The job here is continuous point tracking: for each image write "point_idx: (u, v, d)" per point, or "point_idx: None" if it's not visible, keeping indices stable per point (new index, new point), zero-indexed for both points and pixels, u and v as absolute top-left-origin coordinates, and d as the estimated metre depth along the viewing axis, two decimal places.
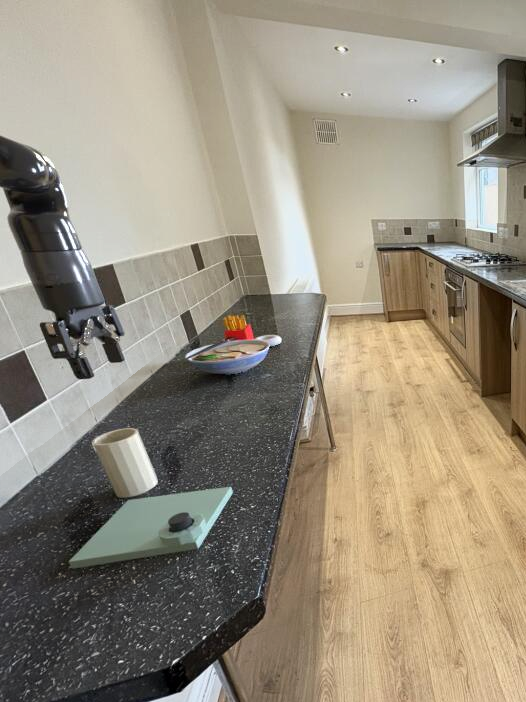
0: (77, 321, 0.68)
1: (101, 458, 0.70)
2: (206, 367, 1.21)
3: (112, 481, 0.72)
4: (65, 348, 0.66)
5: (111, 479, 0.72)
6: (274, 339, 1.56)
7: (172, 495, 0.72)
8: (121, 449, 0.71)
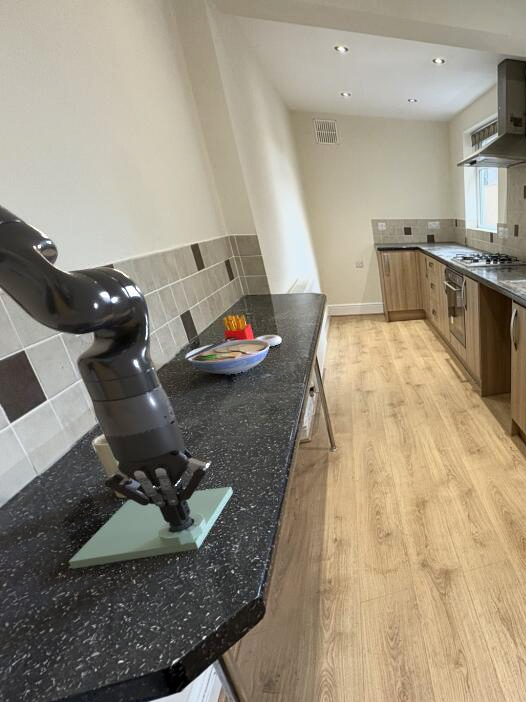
0: None
1: (101, 458, 0.70)
2: (206, 367, 1.21)
3: None
4: None
5: None
6: (274, 339, 1.56)
7: None
8: None
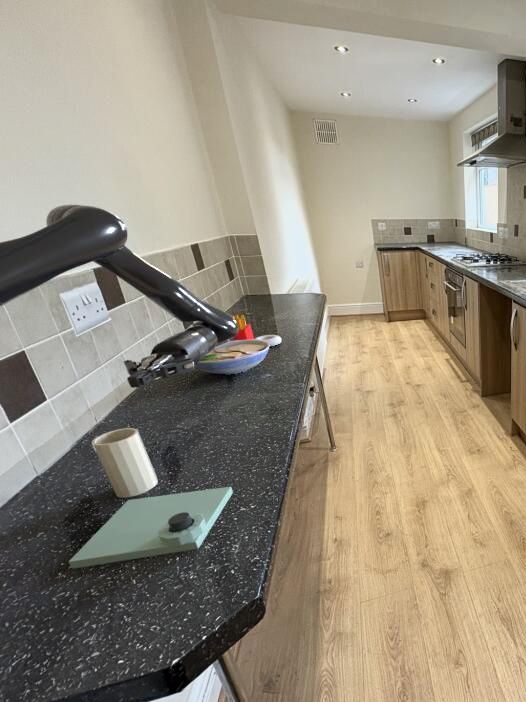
0: None
1: (101, 458, 0.70)
2: (206, 367, 1.21)
3: (112, 481, 0.72)
4: (173, 375, 0.83)
5: (111, 479, 0.72)
6: (274, 339, 1.56)
7: (172, 495, 0.72)
8: (121, 449, 0.71)
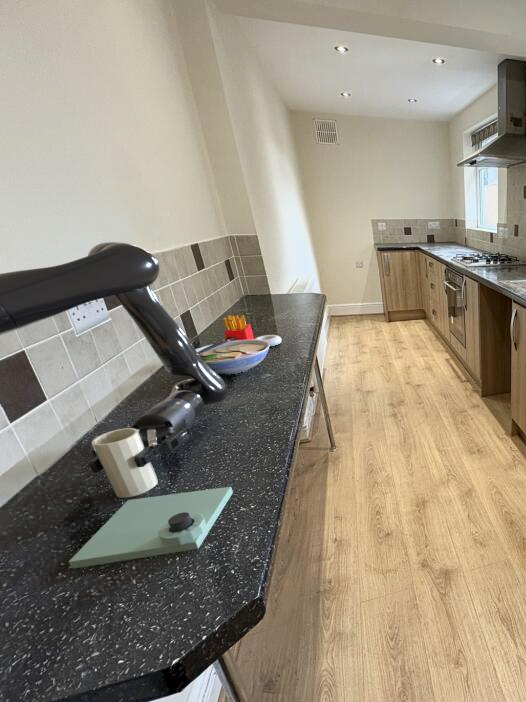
0: None
1: (101, 458, 0.70)
2: None
3: (112, 481, 0.72)
4: (176, 447, 0.79)
5: (111, 479, 0.72)
6: (274, 339, 1.56)
7: (172, 495, 0.72)
8: (121, 449, 0.71)
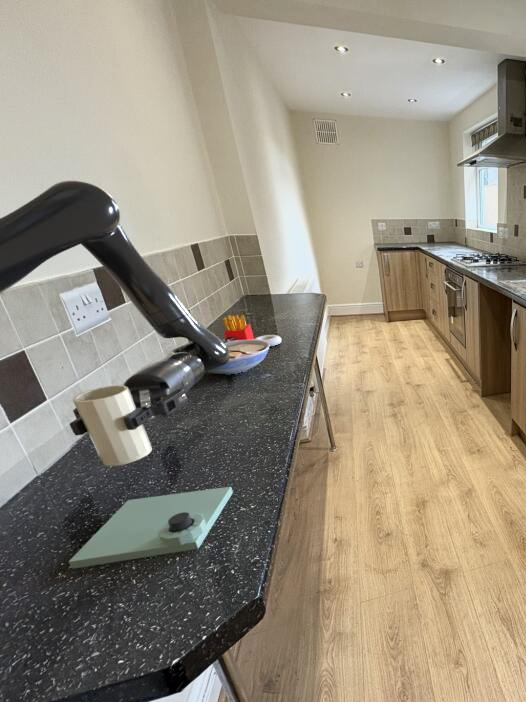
0: None
1: (84, 418, 0.60)
2: None
3: (98, 446, 0.62)
4: (173, 410, 0.68)
5: (97, 443, 0.61)
6: (274, 339, 1.56)
7: (172, 495, 0.72)
8: (108, 407, 0.60)
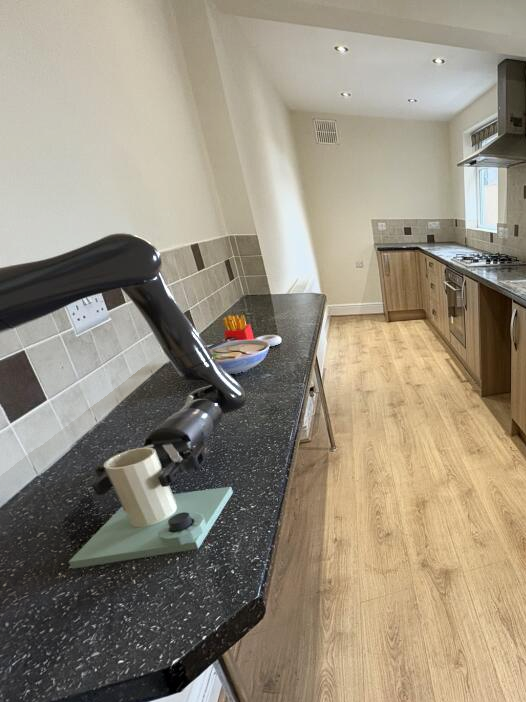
0: None
1: (114, 483, 0.61)
2: None
3: (127, 509, 0.63)
4: (202, 463, 0.70)
5: (125, 507, 0.63)
6: (274, 339, 1.56)
7: None
8: (137, 473, 0.62)
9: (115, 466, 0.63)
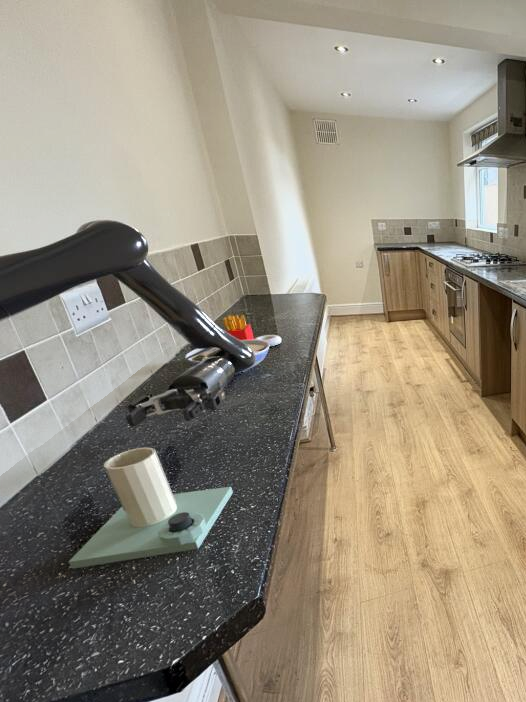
0: None
1: (114, 483, 0.61)
2: None
3: (127, 509, 0.63)
4: (219, 405, 0.80)
5: (125, 507, 0.63)
6: (274, 339, 1.56)
7: None
8: (137, 473, 0.62)
9: (115, 466, 0.63)
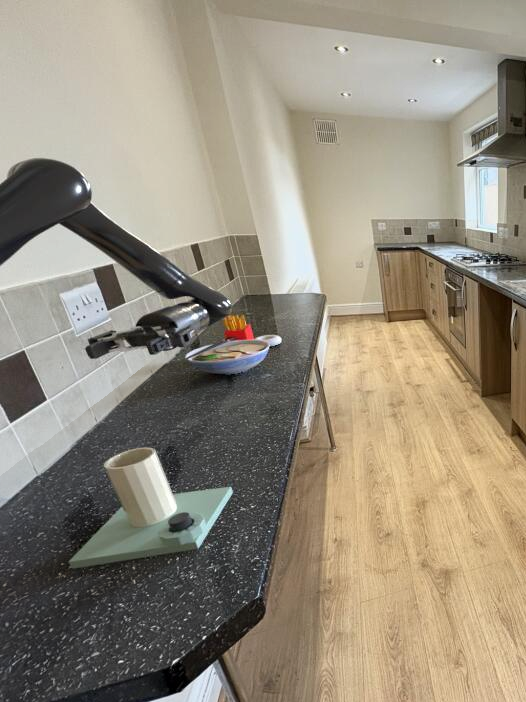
0: None
1: (114, 483, 0.61)
2: (206, 367, 1.21)
3: (127, 509, 0.63)
4: (188, 343, 0.76)
5: (125, 507, 0.63)
6: (274, 339, 1.56)
7: None
8: (137, 473, 0.62)
9: (115, 466, 0.63)
